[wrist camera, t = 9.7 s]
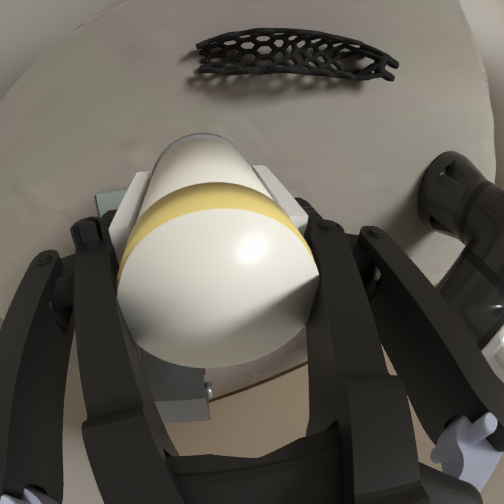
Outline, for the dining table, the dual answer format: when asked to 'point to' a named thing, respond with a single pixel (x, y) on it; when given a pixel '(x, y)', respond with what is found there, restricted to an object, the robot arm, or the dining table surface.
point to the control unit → (177, 389)
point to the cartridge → (213, 261)
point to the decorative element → (293, 55)
